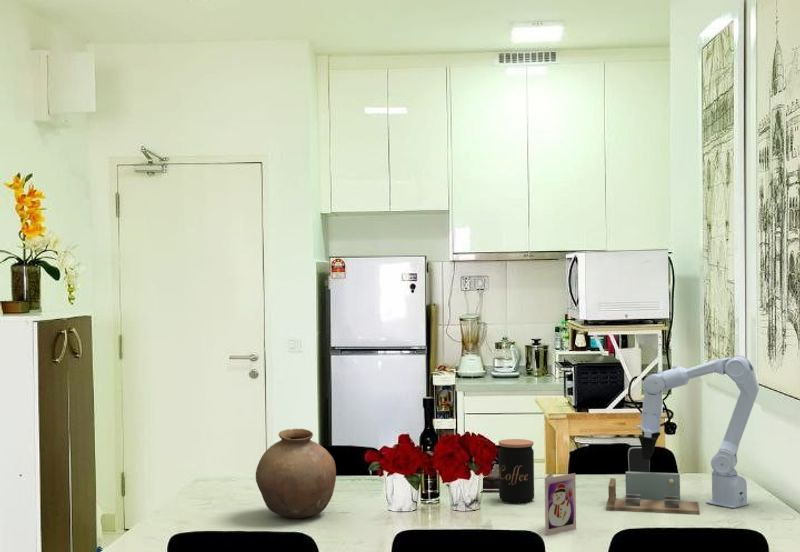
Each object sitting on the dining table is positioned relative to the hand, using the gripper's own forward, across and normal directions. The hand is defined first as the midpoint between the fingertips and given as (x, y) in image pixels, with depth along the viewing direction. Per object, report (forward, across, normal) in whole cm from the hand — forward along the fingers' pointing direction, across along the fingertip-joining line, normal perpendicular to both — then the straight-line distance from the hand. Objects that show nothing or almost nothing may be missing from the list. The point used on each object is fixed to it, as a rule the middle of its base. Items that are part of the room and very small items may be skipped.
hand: (647, 457), depth 303 cm
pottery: (+22, +53, -92) cm, 108 cm away
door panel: (+12, +2, +3) cm, 13 cm away
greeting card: (+14, +48, -19) cm, 53 cm away
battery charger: (+13, -24, -4) cm, 28 cm away
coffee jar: (+16, +16, -36) cm, 43 cm away
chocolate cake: (+18, -7, -50) cm, 54 cm away
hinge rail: (+12, +14, +4) cm, 19 cm away
